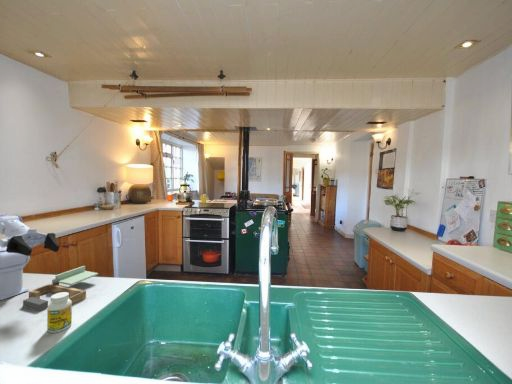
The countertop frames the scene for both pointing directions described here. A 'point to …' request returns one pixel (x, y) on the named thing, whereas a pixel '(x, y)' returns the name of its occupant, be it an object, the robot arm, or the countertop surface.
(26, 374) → the countertop surface
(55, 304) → the supplement bottle
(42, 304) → the gray rectangular block
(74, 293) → the brown wooden frame
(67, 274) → the cover
